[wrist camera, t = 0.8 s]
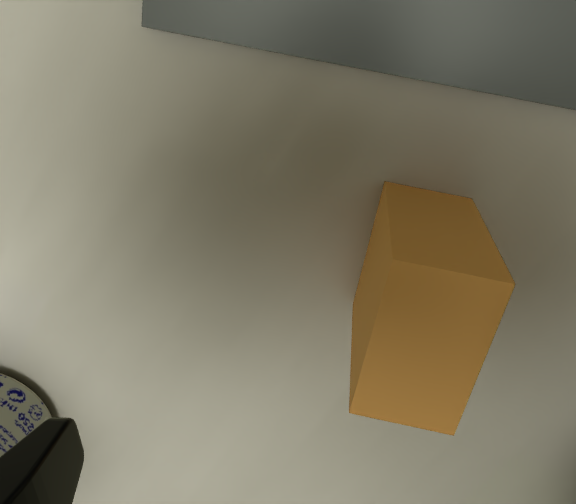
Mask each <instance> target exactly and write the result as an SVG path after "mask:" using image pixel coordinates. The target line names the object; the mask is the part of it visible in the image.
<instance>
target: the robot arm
mask: <svg viewBox="0 0 576 504" xmlns="http://www.w3.org/2000/svg"><path fill="white" fill-rule="evenodd" d="M83 461H84V450H83V446H82V443H81V439H80V436H79V432H78V429H77V425H76V423H75V421H74V420H73V419H72V418H49V419H47V420H45V421H44V422H43V423H41V424H40V425H39V426H38V427H36V428H35V429H34V430H33V431H32V432H30V433H29V434H28V435H27V436H25V437H24V438H23V439H22V440H20V441H19V442H18V443H17V444H15V445H14V446H13V447H12V448H10V449H9V450H8V451H7V452H5V453H4V454H3V455H2V456H1V457H0V504H72V502H73V499H74V495H75V492H76V488H77V484H78V481H79V477H80V473H81V470H82V466H83Z"/></svg>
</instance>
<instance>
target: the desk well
mask: <svg viewBox="0 0 576 504" xmlns="http://www.w3.org/2000/svg"><path fill="white" fill-rule="evenodd" d="M142 27H146V28H151V29H157V30H162V31H167V32H172V33H177V34H183V35H188V36H193V37H198V38H203V39H209V40H214V41H219V42H224V43H230V44H235V45H240V46H245V47H250V48H256V49H261V50H266V51H271V52H276V53H282V54H287V55H292V56H297V57H302V58H308V59H313V60H318V61H323V62H328V63H334V64H339V65H344V66H349V67H355V68H360V69H365V70H370V71H375V72H381V73H386V74H391V75H396V76H401V77H407V78H412V79H417V80H422V81H427V82H433V83H438V84H443V85H448V86H453V87H459V88H464V89H469V90H474V91H480V92H485V93H490V94H495V95H500V96H506V97H511V98H516V99H521V100H526V101H532V102H537V103H542V104H547V105H552V106H558V107H563V108H568V109H573V110H576V0H143V6H142Z"/></svg>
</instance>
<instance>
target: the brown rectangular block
mask: <svg viewBox="0 0 576 504" xmlns="http://www.w3.org/2000/svg"><path fill="white" fill-rule="evenodd" d="M514 286H515V282H514V280H513V278H512V277H511V275H510V273H509V271H508V269H507V267H506V265H505V263H504V261H503V259H502V257H501V255H500V253H499V251H498V249H497V247H496V245H495V243H494V241H493V239H492V237H491V235H490V233H489V231H488V229H487V227H486V225H485V223H484V221H483V219H482V217H481V215H480V213H479V211H478V209H477V207H476V205H475V203H474V202H473V200H472V199H471V198H466V197H461V196H456V195H451V194H446V193H441V192H436V191H431V190H426V189H421V188H416V187H411V186H406V185H401V184H396V183H391V182H386V181H385V182H384V186H383V190H382V194H381V198H380V202H379V205H378V209H377V213H376V217H375V221H374V225H373V229H372V232H371V236H370V240H369V244H368V248H367V252H366V256H365V260H364V263H363V267H362V271H361V275H360V279H359V283H358V287H357V291H356V294H355V298H354V302H353V317H352V344H351V372H350V400H349V413H352V414H356V415H361V416H365V417H370V418H375V419H379V420H384V421H389V422H393V423H398V424H402V425H407V426H412V427H416V428H421V429H425V430H430V431H435V432H439V433H444V434H449V435H453V436H454V434H455V431H456V429H457V426H458V424H459V421H460V419H461V416H462V414H463V411H464V409H465V407H466V404H467V402H468V399H469V397H470V394H471V392H472V389H473V387H474V385H475V382H476V380H477V377H478V375H479V372H480V370H481V367H482V365H483V362H484V360H485V358H486V355H487V353H488V350H489V348H490V345H491V343H492V340H493V338H494V335H495V333H496V331H497V328H498V326H499V323H500V321H501V318H502V316H503V313H504V311H505V309H506V306H507V304H508V301H509V299H510V296H511V294H512V291H513V289H514Z"/></svg>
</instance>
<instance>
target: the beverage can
mask: <svg viewBox="0 0 576 504" xmlns="http://www.w3.org/2000/svg"><path fill="white" fill-rule="evenodd" d="M49 418H52V417H51V415H50V413H49V411H48V409H47V407H46V406H45V404H44V403H43V401H42V400H41V399H40V398H39V397H38V396H37V395H36V394H35V393H34V392H33V391H32V390H30V389H29V388H28V387H27V386H25V385H24V384H22V383H21V382H19V381H17V380H15V379H14V378H11V377H9V376H6V375H4V374H0V457H1V456H2V455H3V454H4V453H5V452H7V451H8V450H9V449H10V448H12V447H13V446H14V445H15V444H17V443H18V442H19V441H20V440H22V439H23V438H24V437H25V436H27V435H28V434H29V433H30V432H32V431H33V430H34V429H35V428H36V427H38V426H39V425H40V424H41V423H43V422H44V421H45V420H47V419H49Z"/></svg>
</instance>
